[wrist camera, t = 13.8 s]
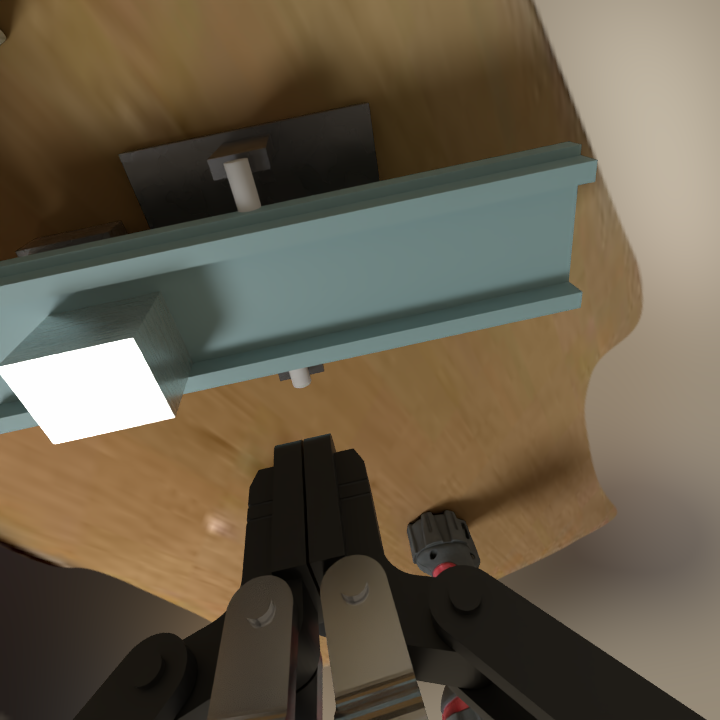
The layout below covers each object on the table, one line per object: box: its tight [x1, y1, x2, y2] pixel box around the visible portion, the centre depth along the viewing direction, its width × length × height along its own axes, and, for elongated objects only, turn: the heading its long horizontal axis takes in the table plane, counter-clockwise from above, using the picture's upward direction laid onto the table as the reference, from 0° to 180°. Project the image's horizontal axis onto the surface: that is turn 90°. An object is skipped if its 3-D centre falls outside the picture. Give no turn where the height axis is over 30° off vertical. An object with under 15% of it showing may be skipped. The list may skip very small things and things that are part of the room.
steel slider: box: [0, 291, 193, 444], centre depth 23 cm, size 5×6×5 cm
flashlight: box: [407, 510, 483, 720], centre depth 44 cm, size 8×8×23 cm
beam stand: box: [15, 102, 379, 381], centre depth 30 cm, size 15×24×8 cm, turn 100°
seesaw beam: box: [0, 142, 598, 434], centre depth 27 cm, size 14×34×9 cm, turn 100°
